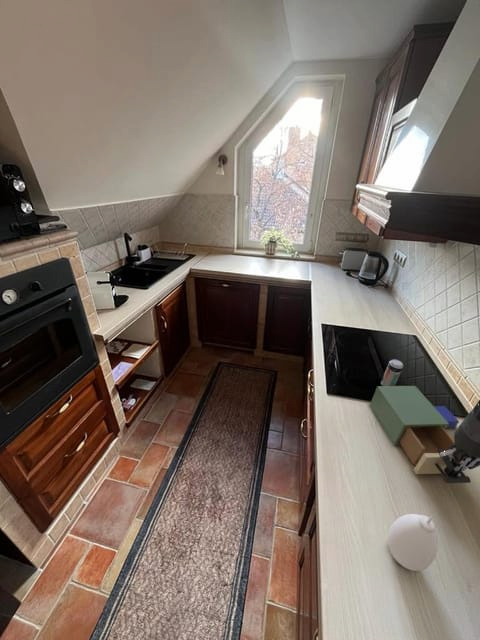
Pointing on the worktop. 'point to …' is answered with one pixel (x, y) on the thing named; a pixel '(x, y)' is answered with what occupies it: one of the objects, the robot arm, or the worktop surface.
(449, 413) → the blue block
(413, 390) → the cabinet
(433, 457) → the drawer
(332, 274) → the worktop surface
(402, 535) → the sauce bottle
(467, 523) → the worktop surface
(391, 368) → the beer can
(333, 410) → the worktop surface
